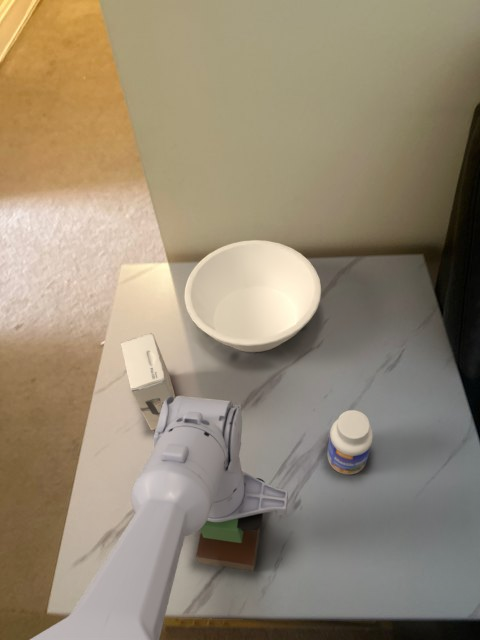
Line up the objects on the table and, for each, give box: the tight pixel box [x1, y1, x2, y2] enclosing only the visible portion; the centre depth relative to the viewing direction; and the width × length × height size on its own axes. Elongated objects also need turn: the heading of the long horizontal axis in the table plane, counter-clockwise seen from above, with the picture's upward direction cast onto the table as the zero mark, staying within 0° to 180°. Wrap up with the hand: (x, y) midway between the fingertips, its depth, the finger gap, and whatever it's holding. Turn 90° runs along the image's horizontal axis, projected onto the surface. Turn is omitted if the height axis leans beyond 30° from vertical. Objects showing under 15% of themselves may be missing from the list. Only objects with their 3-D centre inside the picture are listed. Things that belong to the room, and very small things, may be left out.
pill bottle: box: [326, 409, 374, 475], centre depth 74 cm, size 5×5×10 cm
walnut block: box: [195, 525, 262, 572], centre depth 71 cm, size 7×7×3 cm
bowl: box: [184, 239, 322, 353], centre depth 90 cm, size 21×21×8 cm
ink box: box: [120, 332, 177, 431], centre depth 80 cm, size 9×5×12 cm, turn 17°
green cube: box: [199, 518, 243, 543], centre depth 64 cm, size 4×4×4 cm
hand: (225, 519), depth 66 cm, fingers closed on green cube, 4 cm apart
